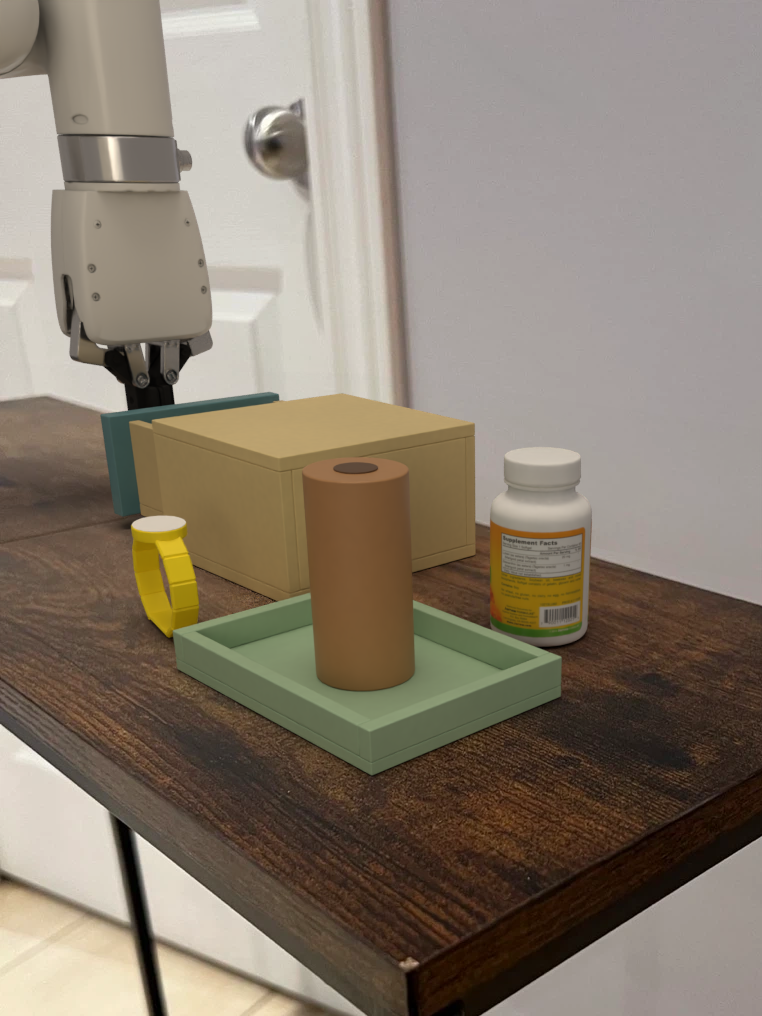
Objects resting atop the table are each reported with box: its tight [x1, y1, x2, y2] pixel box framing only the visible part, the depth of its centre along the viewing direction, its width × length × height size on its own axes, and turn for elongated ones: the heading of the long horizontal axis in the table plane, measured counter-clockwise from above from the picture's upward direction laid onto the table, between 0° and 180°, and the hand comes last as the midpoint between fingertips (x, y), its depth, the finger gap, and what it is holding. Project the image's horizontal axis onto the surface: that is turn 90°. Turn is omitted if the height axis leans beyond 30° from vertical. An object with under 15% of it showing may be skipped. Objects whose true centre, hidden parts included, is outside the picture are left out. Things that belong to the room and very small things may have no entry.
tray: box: [172, 593, 563, 776], centre depth 56 cm, size 16×12×2 cm
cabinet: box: [152, 392, 476, 602], centre depth 73 cm, size 14×15×9 cm
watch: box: [130, 516, 200, 639], centre depth 61 cm, size 6×3×6 cm, turn 36°
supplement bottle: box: [489, 446, 593, 648], centre depth 61 cm, size 5×5×10 cm
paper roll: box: [302, 457, 415, 691], centre depth 54 cm, size 5×5×10 cm
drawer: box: [99, 391, 284, 518], centre depth 80 cm, size 17×13×7 cm
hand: (155, 438), depth 86 cm, fingers closed
